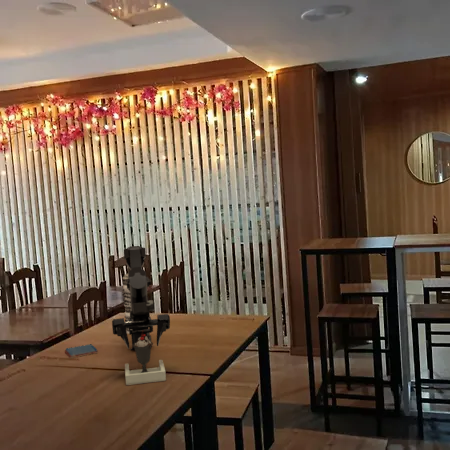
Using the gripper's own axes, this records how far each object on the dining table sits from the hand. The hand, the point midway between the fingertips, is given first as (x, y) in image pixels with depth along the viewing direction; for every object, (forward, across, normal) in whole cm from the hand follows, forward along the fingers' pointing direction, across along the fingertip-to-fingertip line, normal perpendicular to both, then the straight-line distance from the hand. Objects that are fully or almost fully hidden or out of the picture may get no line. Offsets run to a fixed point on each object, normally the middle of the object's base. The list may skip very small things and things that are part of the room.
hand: (143, 346), depth 183 cm
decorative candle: (-37, -1, +51) cm, 63 cm away
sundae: (+6, 0, +8) cm, 10 cm away
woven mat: (-19, -22, +34) cm, 45 cm away
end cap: (+6, 0, +8) cm, 10 cm away
